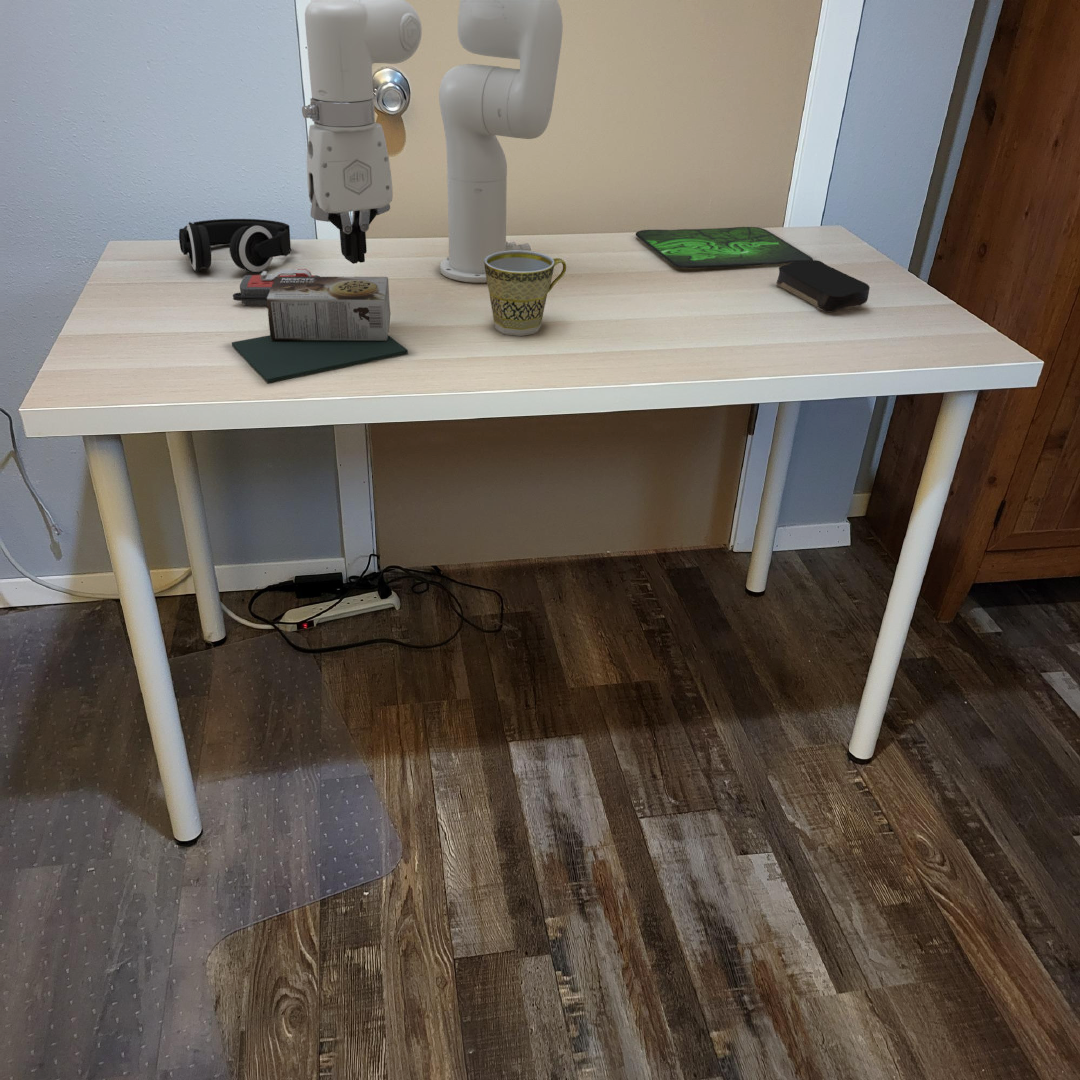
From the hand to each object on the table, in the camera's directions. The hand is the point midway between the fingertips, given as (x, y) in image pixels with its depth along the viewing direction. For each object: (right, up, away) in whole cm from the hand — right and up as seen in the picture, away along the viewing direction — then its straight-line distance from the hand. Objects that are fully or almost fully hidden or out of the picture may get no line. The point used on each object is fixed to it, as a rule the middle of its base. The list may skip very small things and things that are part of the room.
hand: (354, 259), depth 131 cm
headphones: (-26, +10, +35) cm, 45 cm away
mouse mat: (+58, +16, +48) cm, 77 cm away
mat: (-6, -11, +4) cm, 13 cm away
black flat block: (+71, +2, +28) cm, 76 cm away
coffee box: (+4, -5, +7) cm, 9 cm away
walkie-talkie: (-12, -1, +19) cm, 23 cm away
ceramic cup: (+23, -6, +14) cm, 27 cm away
